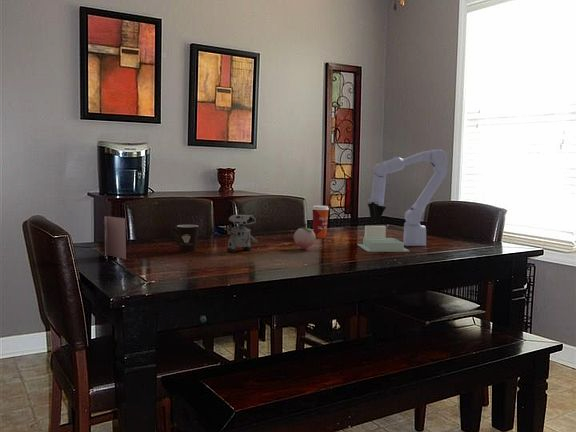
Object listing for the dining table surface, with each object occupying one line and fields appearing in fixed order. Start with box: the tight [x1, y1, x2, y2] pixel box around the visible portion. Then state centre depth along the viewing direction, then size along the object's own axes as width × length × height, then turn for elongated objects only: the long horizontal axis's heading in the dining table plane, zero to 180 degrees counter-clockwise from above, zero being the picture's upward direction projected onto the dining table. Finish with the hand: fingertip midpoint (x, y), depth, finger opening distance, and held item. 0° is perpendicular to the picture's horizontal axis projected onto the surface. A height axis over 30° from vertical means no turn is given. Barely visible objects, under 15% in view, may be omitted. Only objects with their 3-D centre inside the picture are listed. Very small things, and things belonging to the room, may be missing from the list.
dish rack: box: [357, 237, 410, 253], centre depth 235 cm, size 18×17×4 cm
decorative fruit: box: [293, 227, 317, 250], centre depth 228 cm, size 9×8×10 cm
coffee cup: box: [311, 205, 330, 239], centre depth 263 cm, size 8×8×15 cm
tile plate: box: [364, 225, 387, 238], centre depth 247 cm, size 9×2×8 cm, turn 96°
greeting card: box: [102, 215, 127, 260], centre depth 200 cm, size 11×7×15 cm, turn 22°
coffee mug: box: [167, 224, 200, 253], centre depth 220 cm, size 12×9×10 cm
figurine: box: [226, 214, 261, 253], centre depth 219 cm, size 9×12×15 cm
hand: (375, 220), depth 247 cm, fingers open, 7 cm apart
